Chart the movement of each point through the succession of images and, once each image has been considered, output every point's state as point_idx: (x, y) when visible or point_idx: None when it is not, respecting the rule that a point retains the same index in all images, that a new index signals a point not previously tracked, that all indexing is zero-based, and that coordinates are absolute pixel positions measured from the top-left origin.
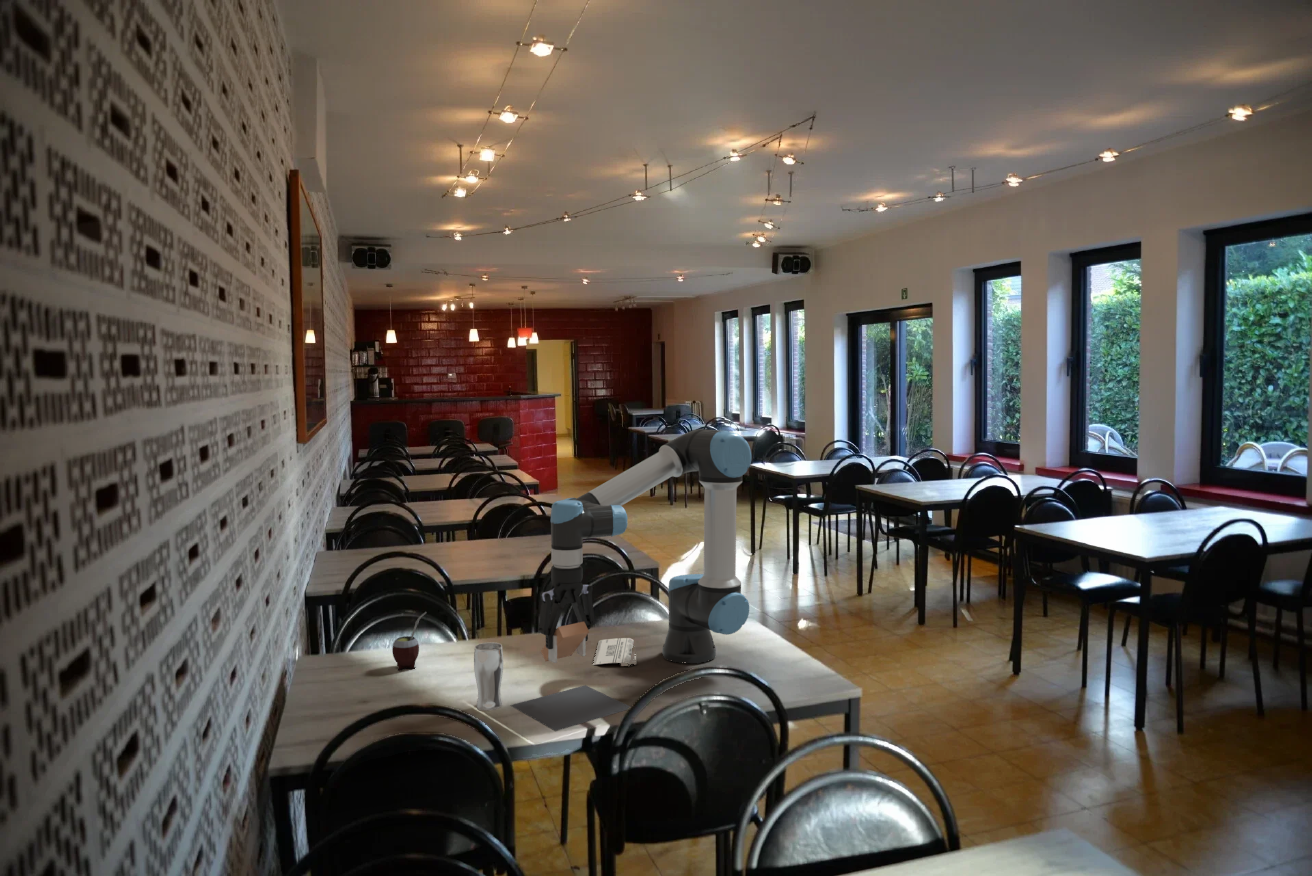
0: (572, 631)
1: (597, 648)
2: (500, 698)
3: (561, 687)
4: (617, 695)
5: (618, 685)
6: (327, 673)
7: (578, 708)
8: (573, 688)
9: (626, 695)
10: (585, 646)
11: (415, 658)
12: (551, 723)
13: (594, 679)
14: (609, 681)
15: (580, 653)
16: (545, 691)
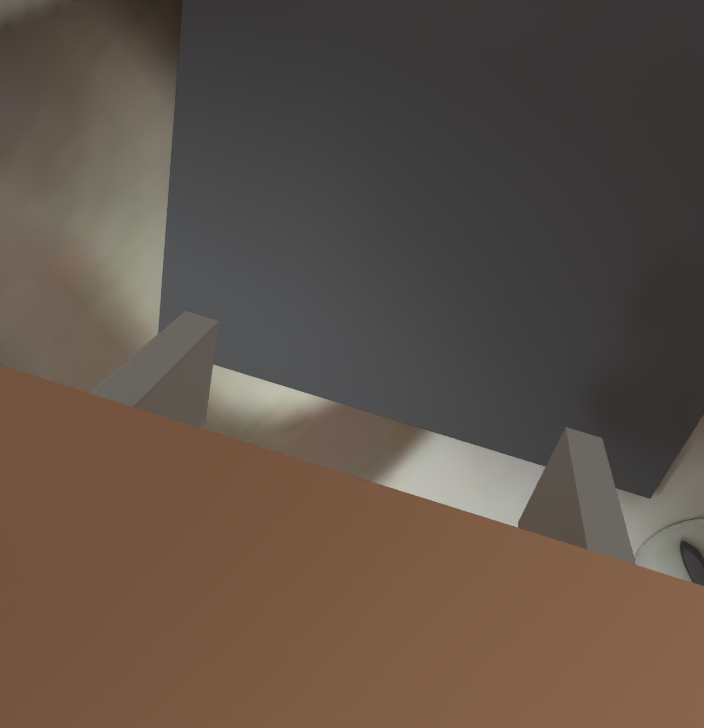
0: (379, 615)
1: None
2: (693, 564)
3: (257, 436)
4: (111, 86)
5: (9, 200)
6: None
7: (473, 124)
8: (237, 369)
9: (67, 31)
10: (127, 361)
11: None
12: None
13: (60, 367)
14: (14, 284)
15: (203, 374)
16: (352, 469)
